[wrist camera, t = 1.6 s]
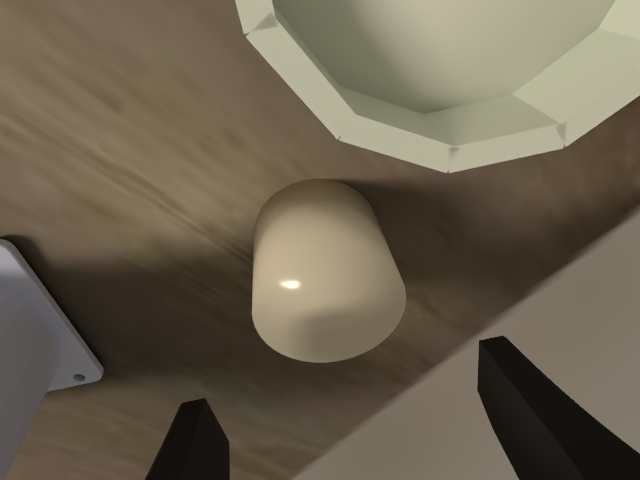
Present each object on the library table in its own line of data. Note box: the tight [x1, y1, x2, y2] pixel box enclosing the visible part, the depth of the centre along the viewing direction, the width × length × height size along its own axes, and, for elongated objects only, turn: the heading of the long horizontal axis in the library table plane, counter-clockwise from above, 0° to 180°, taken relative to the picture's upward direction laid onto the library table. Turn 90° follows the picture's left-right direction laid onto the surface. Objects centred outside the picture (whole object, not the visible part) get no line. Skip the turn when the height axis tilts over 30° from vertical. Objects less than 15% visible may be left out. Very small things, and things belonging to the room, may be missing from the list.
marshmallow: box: [252, 179, 406, 363], centre depth 16 cm, size 5×5×4 cm
